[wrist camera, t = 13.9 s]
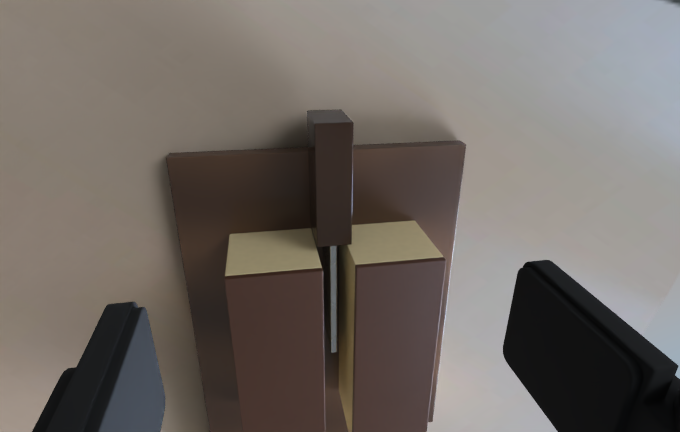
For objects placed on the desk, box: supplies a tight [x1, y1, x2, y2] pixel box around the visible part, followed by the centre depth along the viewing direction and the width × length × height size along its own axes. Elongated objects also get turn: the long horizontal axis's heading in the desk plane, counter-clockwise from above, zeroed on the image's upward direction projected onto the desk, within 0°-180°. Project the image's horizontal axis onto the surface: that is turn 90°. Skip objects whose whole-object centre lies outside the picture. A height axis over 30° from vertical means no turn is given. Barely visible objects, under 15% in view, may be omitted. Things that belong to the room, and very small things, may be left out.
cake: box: [224, 221, 446, 432], centre depth 29 cm, size 14×12×5 cm
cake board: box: [166, 141, 466, 432], centre depth 32 cm, size 24×18×1 cm
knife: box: [307, 110, 353, 353], centre depth 27 cm, size 15×2×4 cm, turn 0°
